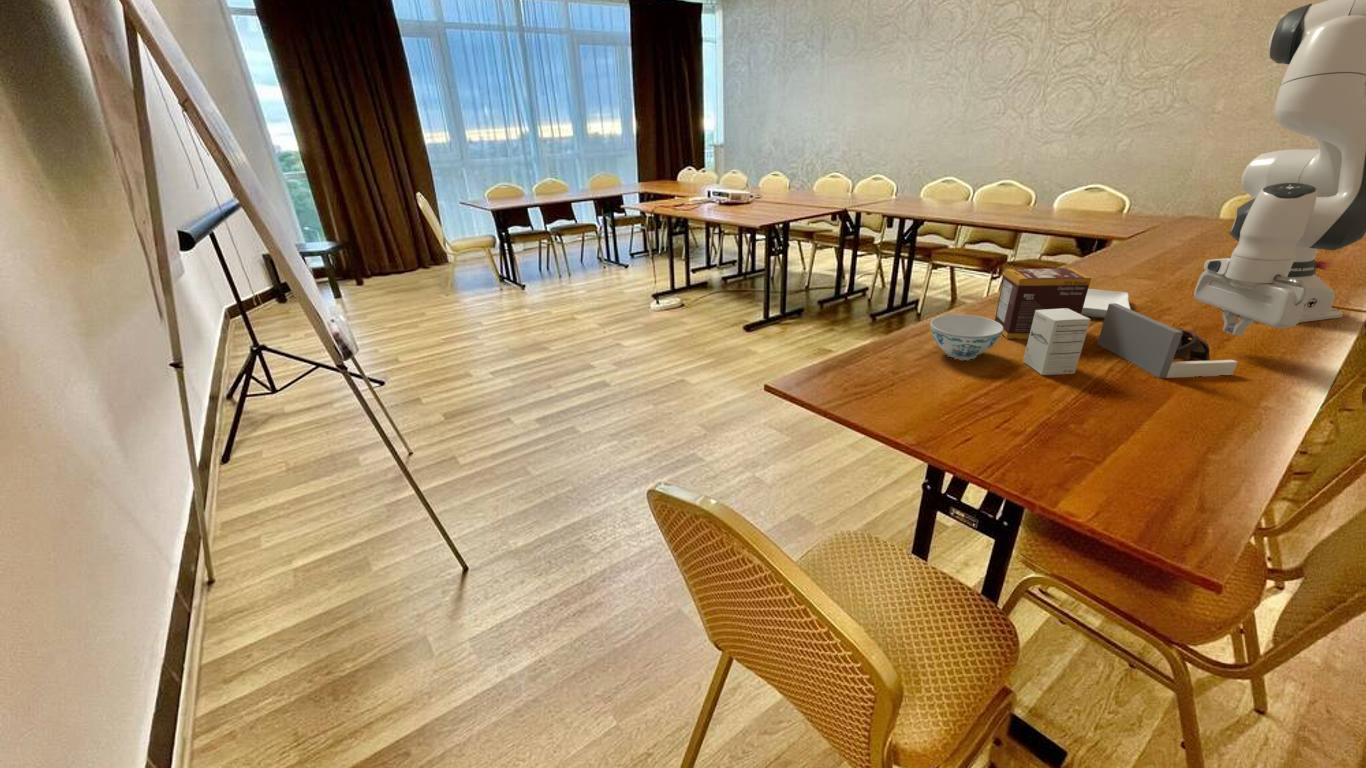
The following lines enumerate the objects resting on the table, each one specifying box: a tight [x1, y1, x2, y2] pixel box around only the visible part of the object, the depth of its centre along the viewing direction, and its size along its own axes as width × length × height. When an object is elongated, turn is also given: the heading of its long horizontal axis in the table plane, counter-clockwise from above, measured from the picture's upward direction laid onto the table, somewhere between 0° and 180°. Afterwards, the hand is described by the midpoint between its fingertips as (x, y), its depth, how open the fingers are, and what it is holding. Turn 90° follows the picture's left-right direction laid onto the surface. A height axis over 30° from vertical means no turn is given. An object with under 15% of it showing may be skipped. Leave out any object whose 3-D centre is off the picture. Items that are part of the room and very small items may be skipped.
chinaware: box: [930, 314, 1003, 361], centre depth 122 cm, size 15×15×8 cm
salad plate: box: [1081, 288, 1132, 319], centre depth 147 cm, size 21×21×3 cm
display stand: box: [1096, 303, 1238, 379], centre depth 113 cm, size 14×19×10 cm
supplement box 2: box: [1022, 308, 1092, 376], centre depth 112 cm, size 7×7×13 cm
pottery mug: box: [1173, 328, 1211, 361], centre depth 113 cm, size 12×10×8 cm
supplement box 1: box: [994, 267, 1092, 340], centre depth 130 cm, size 10×15×16 cm
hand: (1232, 333), depth 112 cm, fingers closed
